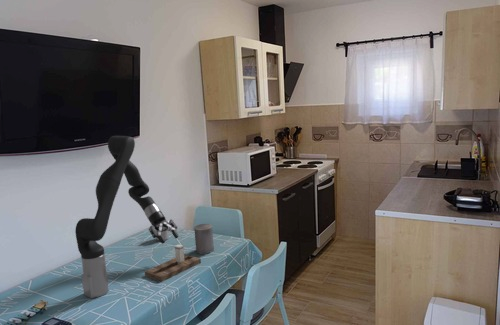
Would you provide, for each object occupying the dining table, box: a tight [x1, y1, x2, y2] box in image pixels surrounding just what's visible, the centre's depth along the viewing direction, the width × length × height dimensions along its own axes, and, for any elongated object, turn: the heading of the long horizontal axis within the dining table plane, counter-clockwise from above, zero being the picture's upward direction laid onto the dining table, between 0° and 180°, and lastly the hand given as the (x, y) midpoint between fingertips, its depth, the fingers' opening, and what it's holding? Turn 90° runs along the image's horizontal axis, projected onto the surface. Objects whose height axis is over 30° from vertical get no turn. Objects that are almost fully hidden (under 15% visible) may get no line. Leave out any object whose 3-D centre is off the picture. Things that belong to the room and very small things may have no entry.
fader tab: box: [174, 244, 185, 264], centre depth 192 cm, size 2×4×9 cm
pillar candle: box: [193, 223, 215, 255], centre depth 210 cm, size 10×10×15 cm
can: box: [154, 229, 170, 241], centre depth 233 cm, size 8×8×12 cm
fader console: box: [144, 253, 202, 283], centre depth 189 cm, size 25×12×2 cm, turn 141°
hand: (170, 240), depth 194 cm, fingers open, 8 cm apart
